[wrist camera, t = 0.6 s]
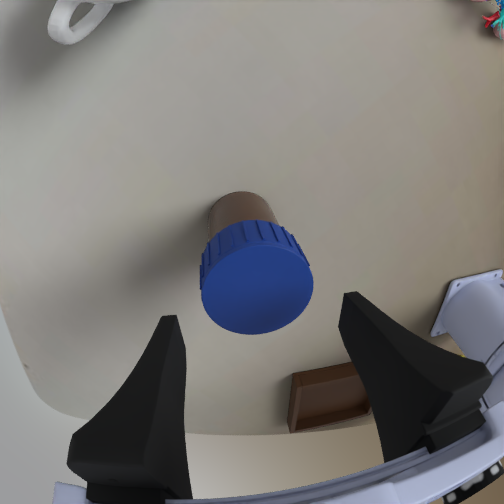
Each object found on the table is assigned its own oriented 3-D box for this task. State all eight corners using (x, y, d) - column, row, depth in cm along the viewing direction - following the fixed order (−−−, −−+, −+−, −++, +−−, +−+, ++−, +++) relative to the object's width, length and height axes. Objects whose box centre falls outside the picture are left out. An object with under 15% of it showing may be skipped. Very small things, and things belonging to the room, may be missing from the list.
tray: (387, 352, 31) (394, 365, 30) (365, 404, 37) (370, 414, 36) (292, 373, 30) (296, 387, 29) (287, 421, 36) (290, 433, 35)
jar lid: (302, 213, 15) (319, 238, 13) (298, 297, 18) (310, 327, 16) (194, 223, 15) (192, 250, 13) (206, 308, 18) (207, 340, 15)
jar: (272, 188, 20) (305, 244, 14) (273, 247, 22) (300, 317, 16) (204, 194, 20) (205, 254, 13) (211, 253, 22) (215, 328, 16)
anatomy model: (526, 68, 12) (557, 41, 10) (478, -30, 8) (516, -45, 6) (484, 59, 16) (518, 34, 14) (437, -22, 13) (478, -40, 10)
